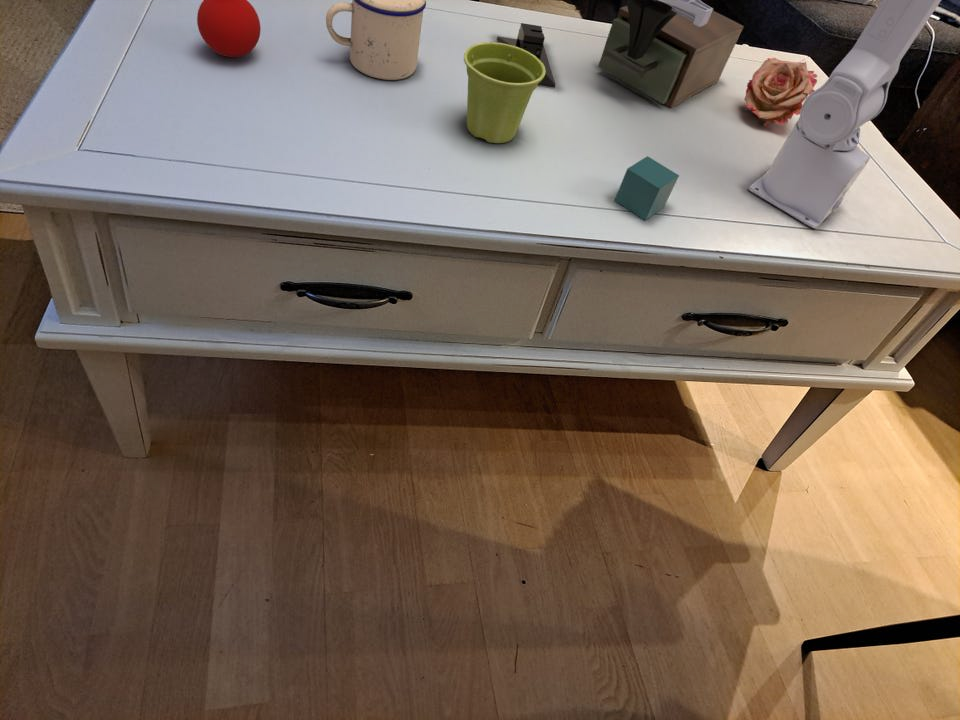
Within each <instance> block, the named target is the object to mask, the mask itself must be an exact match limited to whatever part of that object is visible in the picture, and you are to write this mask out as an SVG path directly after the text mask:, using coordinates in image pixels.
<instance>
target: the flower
mask: <svg viewBox="0 0 960 720" xmlns="http://www.w3.org/2000/svg"><path fill="white" fill-rule="evenodd" d="M817 78H818V74H816V73H815V71H814V70H809V69H808V66H807V61H804V62H802V61H801V62H799V61H796V62H795V61H788V60H781V59H778V58H776V57H771V58H769V57H767V59H765V60H764V61H763V63H762V64H761V65H760V67H759V68H758V69H757V70H756V71H754V73H753V74H752V78H751V79H748V82H747V83H746V84H747V85H746V89H745V97H744V102H745V105H746V108H744V109H743V110H744V111H751V113H753V114H754V115H756V116H757V117H758V118H759V119H764V120H767V121H766V122H765V123H764V124H763V127H765V128H767V126H768V125H769V124H770V123H772V124H773V123H775V124H777V125H781V126H783V125H784V124H785V125H788V124H789V122H788V120H791V119H792V118H793V117H794V115H795V116H800V112H801V108H802V105H803V103H804V102H805V100H806V99H807V97H808V96H809V95H810V94H811V93H812V92H814V91H815V89H814V88H815V86H816V84H817V83H818V79H817Z"/></svg>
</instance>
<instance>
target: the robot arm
mask: <svg viewBox="0 0 960 720" xmlns="http://www.w3.org/2000/svg"><path fill="white" fill-rule="evenodd" d="M941 1H942V0H881V1H880V3H879V5H878V6H877V8H876V9H875V11H874V13H873V14H872V16H871V18H870V19H869V21H868V23H867V24H866V26H865V27H864V29H863V31H862V32H861V33H860V35H859V36H858V38H857V41H856V42H855V44H854V45H853V47H852V48H851V49H850V50H849V51H848V53H847V54H846V55H845V57H844V58H842V60H841V61H840V62H839V64H837V66H836V67H835V68H834V69H833V70H832V72H831V74H830V75H829V77H828V79H827V80H826V81H825V82H824V83H823V84H822V85H821V86H820V87H818V88H817V89H814V92H812V93H811V94H810V95H808V97H807V98H806V99H805V100H804V101H803V102H802V108H801V112H800V114H799V118H798V119H797V121H796V123H795V124H794V126H793V128H792V129H791V131H790V132H789V134H788V136H787V138H786V139H785V141H784V143H783V145H782V146H781V149H779V151H778V153H777V155H776V157H775V158H774V160H773V161H772V163H771V165H770V167H769V168H768V170H767V171H766V172H765V173H764V174H762V175H761V176H760V177H759V178H757V179H756V180H755V181H754V182H753V183H751V184H750V185H749V187H748V190H749V191H750V192H751V193H753V194H755V195H757V196H758V197H759V198H761V199H763V200H765V201H766V202H768V203H769V204H771V205H773V206H775V207H777V208H778V209H780V210H781V211H783V212H785V213H787V214H788V215H790V216H792V217H793V218H795V219H796V220H798V221H800V222H801V223H803V224H805V225H807V226H808V227H810V228H812V229H817V228H818V227H819V226H820V225H821V224H822V223H823V222H824V221H825V220H826V219H827V218H829V216H830V214H832V213H833V212H836V211H837V209H838V208H839V207H840V205H841V204H842V203H843V201H844V197H845V196H846V194H847V193H848V192H849V190H850V189H851V187H852V186H853V185H854V183H855V182H856V180H857V179H858V178H859V175H861V173H862V172H863V170H864V169H865V168H866V166H867V164H868V162H869V161H870V159H871V157H870V155H868V154H867V153H865V152H864V151H862V150H861V148H860V147H859V146H858V144H859V143H860V138H861V137H860V135H861V127H862V126H863V125H865V124H866V123H868V122H870V121H872V120H873V119H875V118H876V117H878V115H880V113H881V112H882V111H883V109H884V107H885V105H886V103H887V100H888V95H889V88H890V86H891V83H892V82H893V79H894V78H895V76H896V75H897V74H898V72H899V69H900V65H901V64H900V63H901V61H902V59H903V58H904V56H905V55H906V53H907V52H908V51H909V49H910V47H911V46H912V44H913V43H914V42H915V40H916V38H917V37H918V36H919V34H920V33H921V31H922V30H923V28H924V26H925V25H926V24H927V22H928V21H929V19H930V18H931V16H932V15H933V13H934V12H935V10H936V9H937V7H938V6H939V5H940V3H941ZM626 6H627V7H628V12H629V20H630V37H629V47H628V54H627V56H629V57H630V58H632V59H634V60H637V59H639V58H642V57H643V55H644V53H645V52H646V50H647V48H648V47H649V45H650V44H651V42H652V41H653V40H654V38H655V37H656V36H657V34H658V33H659V32H660V31H661V29H662V28H663V27H664V26H665V25H666V24H667V23H668V22H669V21H670V20H671V19H672V18H673V17H674V16H675V15H676V14H677V13H678V14H680V15H682V16H684V17H686V18H688V19H689V20H691V21H693V24H694V25H696V26H698V27H701V26H703V25H705V24H707V22H708V20H709V18H710V15H711V13H712V11H714V7H711V6H709V5H708V4H706V3H704V2H703V1H702V0H627V2H626Z"/></svg>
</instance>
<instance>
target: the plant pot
mask: <svg viewBox="0 0 960 720" xmlns="http://www.w3.org/2000/svg"><path fill="white" fill-rule="evenodd" d="M463 62H464V65H465V66H466V74H467V99H466V100H467V101H466V102H467V105H466V128H467V130H468V132H469V133H470V134H471V135H472V136H473V137H475V138H479V139H480V138H481V139H484V140H485V141H486V142H487V143H491V144H503V143H508V142H511V141H512V140H513V138H514V137H515V136H516V135H517V132H518V129H519V128H520V127H519V126H520V125H521V122H522V119H523V117H524V115H525V112H526V109H527V106H528V105H529V103H530V100H531V97H532V95H533V94H534V93H533V92H534V91H535V90H536V89H537V87H538V86H537V85H538V83H539V82H540V81H541V80H542V79H543V78H544V76H545V73H546V70H545V67H544V65H543V63H542V62H541V61H540V60H539V59H538V58H537V57H536V56H534V55H533V54H531V53H529V52H528V51H526V50H524V49H521V48H519V47H516V46H512V45H508V44H503V43H498V42H497V41H496V42H494V41H490V42H488V41H485V42H480V43H474V44H472V45H470V46H468V48H466V49H465V51H464V53H463Z"/></svg>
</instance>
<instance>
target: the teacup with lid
mask: <svg viewBox="0 0 960 720" xmlns="http://www.w3.org/2000/svg"><path fill="white" fill-rule="evenodd" d="M426 6H427V0H351V2H338V3H335V4H333V5H331V6H330V7H329V8H328V10H327V12H326V16H325V26H326V29H327V32H328V34H329V35H330V37H331V39H332V40H333V41H334V42H336V43H337V44H339V45H342V46H345V47H346V46H347V47H350V48H349V60H350V62H351V64H352V66H353V67H354V68H355V69H356V70H357V71H359V72H360V73H362V74H364V75H365V76H368V77H371V78H374V79H379V80H385V81H387V80H388V81H397V80H403V79H406V78H409V77H410V76H412V75H413V74H414V73H415V72H416V69H417V66H418V56H419V50H420V49H419V48H420V42H421V41H420V40H421V33H422V25H423V17H424V10H425V9H426V8H427V7H426ZM341 12H350V13H351V22H350V37H345V36H341V35H340V34H338V33H337V32H336V31H335V29H334V28H333V19H334V17H335V15H337V14H338V13H341Z"/></svg>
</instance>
